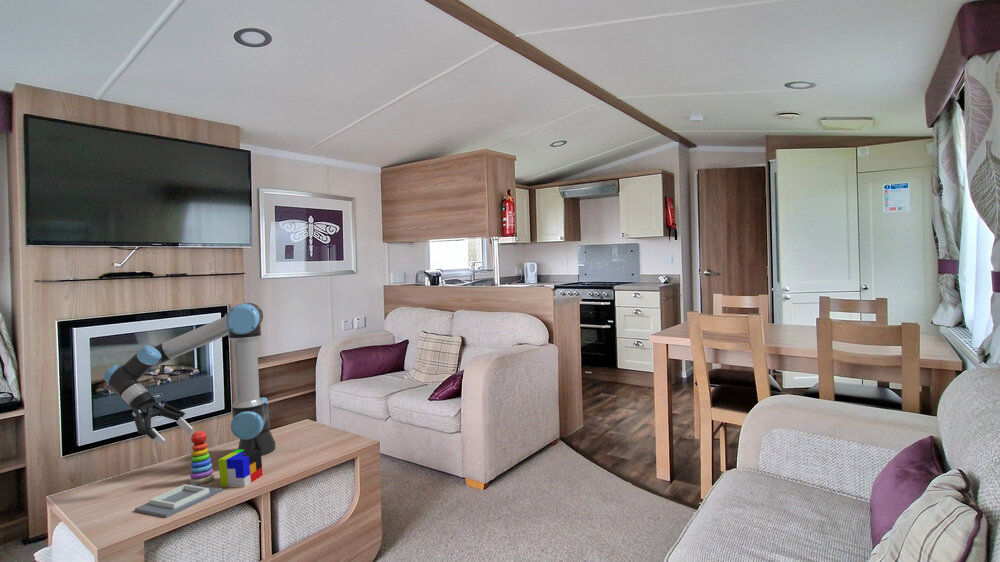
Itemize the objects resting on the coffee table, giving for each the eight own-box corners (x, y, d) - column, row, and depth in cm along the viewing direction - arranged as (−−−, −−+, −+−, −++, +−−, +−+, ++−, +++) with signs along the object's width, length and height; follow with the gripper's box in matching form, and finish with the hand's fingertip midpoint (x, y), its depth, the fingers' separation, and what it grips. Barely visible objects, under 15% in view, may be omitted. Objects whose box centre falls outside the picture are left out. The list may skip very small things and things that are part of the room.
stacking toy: (219, 477, 198) (215, 428, 197) (199, 486, 190) (195, 435, 190) (205, 475, 201) (201, 427, 201) (185, 483, 194) (181, 434, 193)
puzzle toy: (244, 487, 187) (242, 459, 187) (220, 486, 189) (218, 459, 189) (262, 475, 197) (260, 449, 197) (239, 475, 199) (237, 449, 199)
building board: (191, 486, 191) (191, 479, 191) (222, 491, 184) (221, 484, 184) (134, 511, 172) (134, 503, 172) (166, 517, 166) (166, 509, 166)
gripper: (159, 397, 211) (195, 433, 209) (103, 414, 186) (143, 456, 184) (169, 383, 210) (206, 420, 208) (115, 399, 185) (156, 441, 183)
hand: (177, 437), depth 196 cm, fingers open, 13 cm apart
